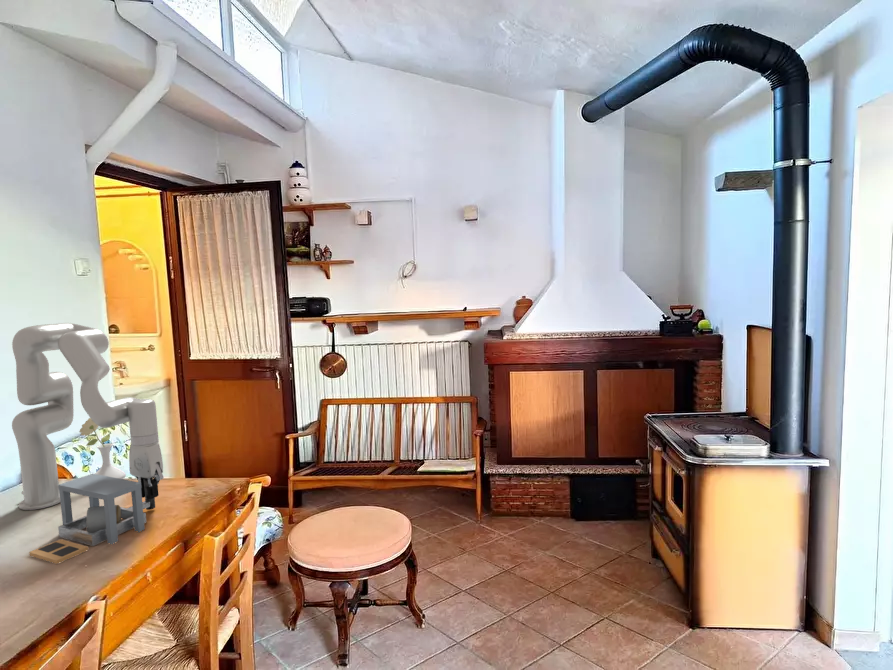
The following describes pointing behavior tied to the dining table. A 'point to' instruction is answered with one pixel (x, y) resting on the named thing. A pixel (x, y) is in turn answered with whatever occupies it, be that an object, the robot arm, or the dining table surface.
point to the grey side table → (106, 491)
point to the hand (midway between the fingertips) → (149, 496)
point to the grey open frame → (76, 534)
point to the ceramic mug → (99, 518)
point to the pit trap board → (58, 551)
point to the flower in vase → (102, 451)
